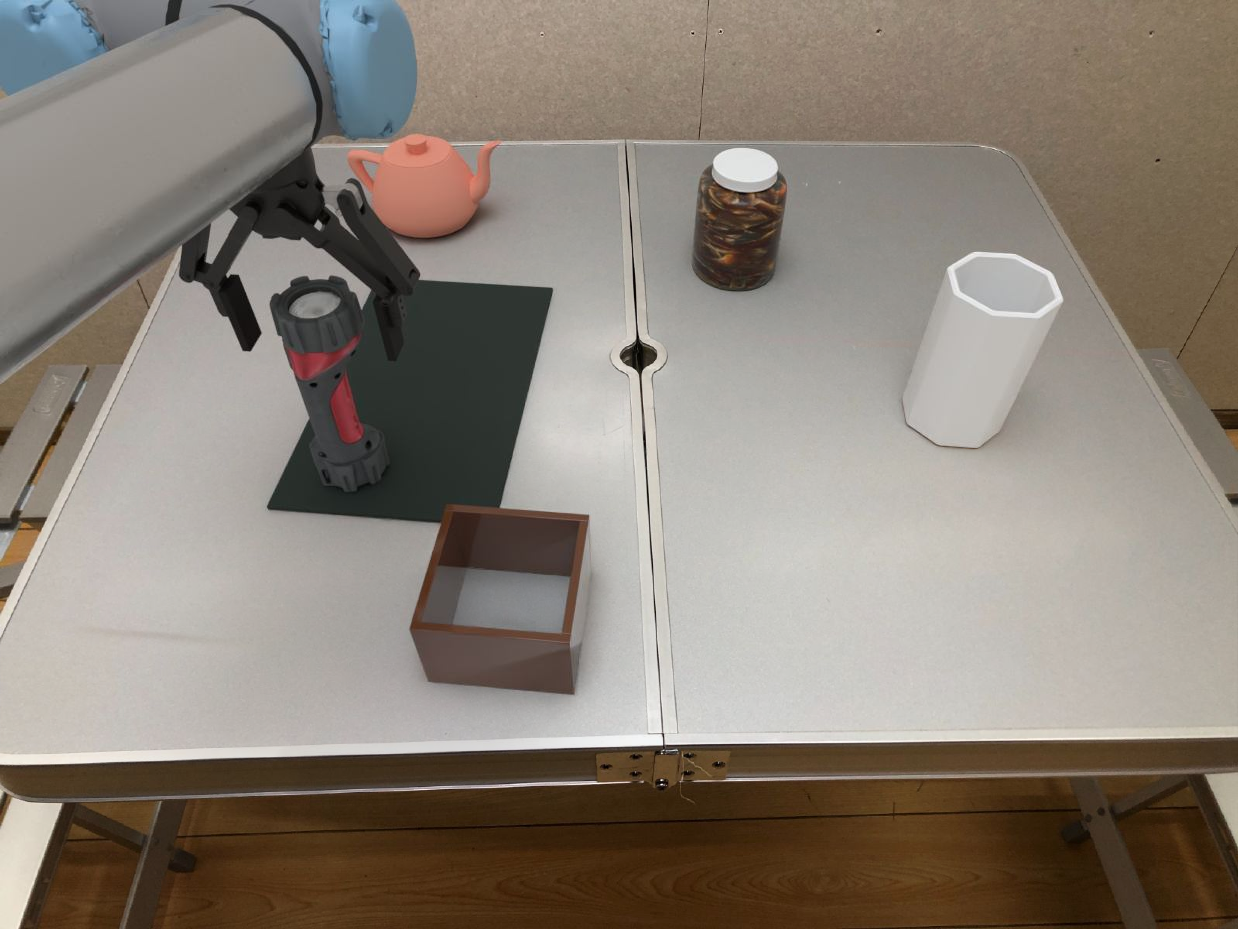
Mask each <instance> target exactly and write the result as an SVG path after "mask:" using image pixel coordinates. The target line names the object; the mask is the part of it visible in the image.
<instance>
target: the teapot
mask: <svg viewBox="0 0 1238 929" xmlns="http://www.w3.org/2000/svg"><path fill="white" fill-rule="evenodd" d="M501 143H502V140H493V141H490V142H487V143H485V144H484V145H482V146H481V147H480V149H479V151H478V153H477V172H476V173H475V174H473V171H472V169H471V168H470V166H469V164H468V162H466V160H465V159H464V158H463V157H462V156H461V154H460V153H459V152H458V151H457V150H456V148H455V147H454V146H453V145H452V144H451V143H450V142H448V141H447V140H445V139H444V138H441V137H437V136H432V135H425V134H422V133H411V134H408V135H406V136H405V137H402V138H399V139H396V140H395V141H393V142H391V143H390V144H389V145H387V147H386V148H385V150H384V151H383V153H382V154H380V153H377V152H374V151H370V150H365V149H355V148H354V149H351V150H349V151H348V153H347V155H346V159H347V162H348V165H349V167H350V170H351V171H352V172H353V174H354V175H355V176H356V178H357V180H358V181H359V182H360V183H361V184H362V185H363V186H364V187H365V188H366V189H367V190H368V191H369V192H370V194H372V195H371V196H372V207H373V208H372V209H373V211H374V212H375V214H376V215H377V216H378V218H379V219H380V220H381V222H382V223H383V224H384V225H385V227H386V228H387V229H390V230H391V231H393V232H394V233H396V234H399V235H402V236H405V237H408V238H409V237H410V238H418V239H429V238H438V237H443V236H446V235H450V234H453V233H455V232H457V231H459V230H460V229H462V228H464V227H465V226H466V225H467V224H468V223H469V221H470V220H471V219H472V217H473V216H474V214H475V213H476V211H477V210H478V207H479V203H480V202H481V201H482V200H483V199H484V198H485V197H486V195H487V194H488V192H489V190H490V187H491V166H490V163H491V162H490V160H491V155H492V153H493V152H494V150H495V149H496V148H497V147H498V146H500V144H501ZM363 162H369V163H373V164H375V165H377V169H376V171H375V175H374V178H372V177H371V175H370V174H369V172H368V171H367V169H366V166H365V165H364V163H363Z"/></svg>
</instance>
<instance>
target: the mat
mask: <svg viewBox="0 0 1238 929" xmlns="http://www.w3.org/2000/svg"><path fill="white" fill-rule="evenodd" d="M553 292H554V288H553V287H550V286H549V287H548V286H533V285H532V286H531V285H518V284H517V285H514V284H512V285H511V284H499V283H481V282H466V281H465V282H464V281H449V280H447V281H445V280H444V281H443V280H431V279H430V280H429V279H419V280H418V282H417V285H416V287H415V289H414V291H413V294H412V295H410V296H405V295H403V299H404V303H405V307H406V312H407V315H406V318H405V321H404V323H403V325H402V328H401V331H402V335H403V339H404V344H403V346H402V349H401V351H400V354H399V356H398V358H397V361H388V358H387V355H386V351H385V347H384V343H383V340H382V336H381V332H380V328H379V324H378V321H377V317H376V313H375V309H374V305H373V300H374V298H375V296H376V293H375V292H374V291H372V290H371V289H370V292H369V294H368V296H367V298H366V300H365V302H364V304H363V306H362V308H361V310H362V313H363V317H364V328H363V331H362V333H363V335H362V340H361V343H360V346H359V348H358V350H357V351H356V353H355V354H354V356H353V357H352V358H351V359H350V361H349V362H348V364H347V367H346V376H347V379H348V384H349V386H350V388H351V394H352V396H353V402H354V404H355V409H356V413H357V416H358V420H359V423H361V424H367V425H370V426H372V427H374V428H375V429H376V430H380V431H381V432H382V433H383V435H384V439H385V445H386V449H387V454H388V458H389V462H390V464H389V466H386V468H385V470H384V472H383V473H382V474H381V480H380V481H378V482H377V483H376V484H374V485H372V484H370V483H366V484H363V485H361V486H358V487H357V491H356V492H345V491H344V490H343V488H341V487H339V486H324V485H323V483H322V480H321V477H320V474H319V472H318V469H317V467H316V465H315V462H314V460H313V458H312V455H311V450H310V446H309V445H310V443H311V441H312V440H313V439H314V437H315V432H314V430H313V427H312V424H311V421H310V418H309V417H308V419H307V421H306V424H305V426H304V428H303V429H302V433H301V434H300V436H299V438H298V441H297V443H296V444H295V446H294V448H293V451H292V453H291V455H290V457H289V459H288V460H287V464H286V465H285V467H284V470H283V472H282V474H281V476H280V477H279V480H278V482H277V484H276V486H275V487H274V490H273V492H272V495H271V496H270V499H269V501H268V502H267V505H266V509H267V510H270V511H271V510H272V511H283V512H295V513H296V512H297V513H310V514H322V515H334V516H335V515H336V516H347V517H348V516H349V517H360V518H361V517H362V518H375V519H387V520H401V521H412V522H425V523H426V522H427V523H438V524H441V521H442V518H443V515H444V511H445V508H446V505H447V504H454V505H467V506H480V507H493V508H501V503H502V499H503V495H504V491H505V486H506V482H507V479H508V475H509V470H510V466H511V462H512V459H513V454H514V450H515V447H516V442H517V439H518V438H517V437H518V433H519V430H520V426H521V423H522V418H523V413H524V409H525V405H526V401H527V397H528V393H529V390H530V385H531V381H532V377H533V373H534V368H535V365H536V361H537V357H538V352H539V350H540V344H541V341H542V337H543V332H544V328H545V324H546V319H547V316H548V312H549V307H550V304H551V299H552V295H553Z"/></svg>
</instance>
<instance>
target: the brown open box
mask: <svg viewBox="0 0 1238 929" xmlns="http://www.w3.org/2000/svg"><path fill="white" fill-rule="evenodd" d="M590 517H591V516H590V514H583V513H571V512H560V511H544V510H531V509H517V508H506V507H499V508H493V507H480V506H467V505H454V504H447V505H446V508H445V511H444V515H443V518H442V521H441V523H440V524H439V528H438V530H437V535H436V538H435V541H434V545H433V548H432V551H431V555H430V558H429V560H428V561H429V562H428V564H427V568H426V572H425V574H424V578H423V580H422V585H421V588H420V591H419V594H418V598H417V602H416V604H415V608H414V611H413V615H412V618H411V622H410V625H409V634H410V636H411V638H412V641H413V644H414V647H415V649H416V653H417V655H418V658H419V660H420V663H421V666H422V669H423V672H424V674H425V677H426V680H427V682H429V683H438V684H450V685H459V686H460V685H461V686H473V687H483V688H495V689H506V690H517V691H526V692H527V691H529V692H539V693H549V694H550V693H551V694H561V695H570V696H571V695H575V693H576V685H577V680H578V671H579V665H580V658H581V651H582V644H583V637H584V628H585V624H586V616H587V609H588V602H589V595H590V589H591V582H592V575H593V565H592V564H593V563H592V540H591V518H590ZM467 569H477V570H488V571H502V572H513V573H525V574H538V575H550V576H551V575H552V576H562V577H570V579H569V584H568V591H567V596H566V604H565V609H564V616H563V621H562V628H561V633H554V632H542V631H531V630H519V629H518V630H517V629H509V628H508V629H507V628H496V627H483V626H474V625H473V626H472V625H470V626H469V625H462V624H461V625H459V624H453V622H454V618H455V613H456V610H457V607H458V603H459V599H460V595H461V591H462V588H463V584H464V581H465V580H464V579H465V576H466V573H467Z"/></svg>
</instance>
